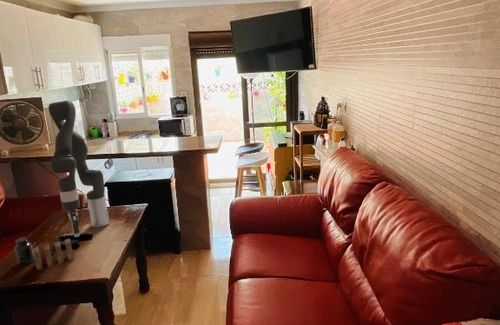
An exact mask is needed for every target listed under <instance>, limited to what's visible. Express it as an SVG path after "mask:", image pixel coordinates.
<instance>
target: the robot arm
mask: <svg viewBox="0 0 500 325" xmlns="http://www.w3.org/2000/svg"><path fill="white" fill-rule="evenodd" d="M48 112H49V114H50V117H51V119H52V121H53V123H54V124H55V126H56V128H57V130H58V133H57V135H56V136H55V145H54V146H55V147H54V153H53V156H52V158H51V161H50V165H49V166H50V170H51V172H52V173H54V174H65V173H68V174H67V175H65V176H63V177H60V178H59V179H58V182H57V183H58V188H59V196H60V202H61V206H62V210H64V211H67V215H68V218H69V219H68V220H69V221H70V223H71V222H72V223H71V226H72V227H73V228H72V231H73V230H74V233H73V235H74V234H77V233H79V234H80V229H79V225H80V224H79V217H78V216H79V215H78V214H79V213H78V210H77V209H78V208H79V209H80V207H81V203H80V197H79V192H78V189H77V184H76V172H77V174H78V178H79V181H80V183H81V184H82V185H83V186H87V187H92V189H91V190H89V191H88V192H86V198H87V206H88V211H89V216H90V221H91V222H90V223H91V227H93V228H102V227H104V226H107V225H110V217H109V212H108V210H109V209H108V208H107V203H106V198H105V197H106V196H105V179H104V174H103V172H102V171H101V170H99V169H89V167H88V164H87V161H86V160H87V156H88V153H89V148H88V146H87V142H86V140H85V139H84V137H83V136H82V135H81V134H79V133H78V132H77V131H75V130H74V128H75V121H76V114H77V113H76V112H77V111H76V106H75V104H74V103H73V102H72V100H61V101H57V102H51V103H50V104H49V105H48ZM71 219H72V220H71ZM74 223H77V224H74Z"/></svg>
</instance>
